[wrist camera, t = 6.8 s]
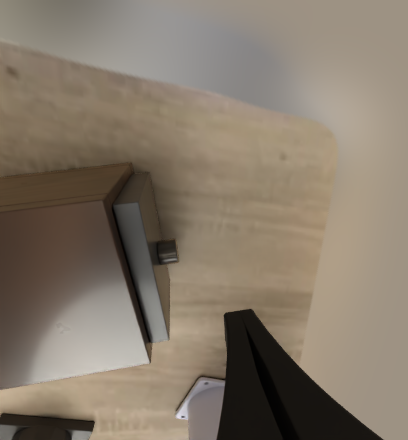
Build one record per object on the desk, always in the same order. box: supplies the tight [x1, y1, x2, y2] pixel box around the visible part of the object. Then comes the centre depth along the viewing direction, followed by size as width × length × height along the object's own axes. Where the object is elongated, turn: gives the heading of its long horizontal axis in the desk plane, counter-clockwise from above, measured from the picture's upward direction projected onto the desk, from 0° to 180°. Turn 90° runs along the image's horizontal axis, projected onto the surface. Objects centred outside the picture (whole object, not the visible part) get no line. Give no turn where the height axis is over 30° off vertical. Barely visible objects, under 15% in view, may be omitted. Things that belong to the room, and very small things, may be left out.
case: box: [0, 163, 152, 390], centre depth 15 cm, size 12×11×8 cm
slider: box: [112, 172, 179, 343], centre depth 15 cm, size 12×9×6 cm
